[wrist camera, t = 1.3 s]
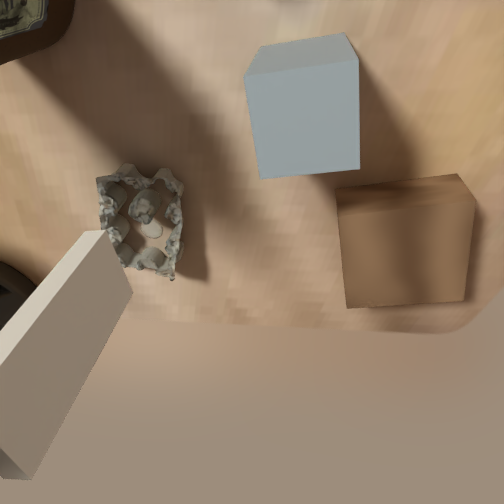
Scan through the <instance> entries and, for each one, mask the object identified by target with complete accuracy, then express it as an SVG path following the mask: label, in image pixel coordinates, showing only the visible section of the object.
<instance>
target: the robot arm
mask: <svg viewBox="0 0 504 504" xmlns="http://www.w3.org/2000/svg"><path fill="white" fill-rule="evenodd" d="M132 294H133V291H132V289H131V286H130V284H129V282H128V279H127V277H126V275H125V272H124V270H123V268H122V266H121V263H120V261H119V259H118V256H117V254H116V252H115V249H114V247H113V245H112V243H111V240H110V238H109V236H108V233H107V231H106V230H96V231H85V232H84V233H83V234H82V236H81V237H80V238H79V239H78V240H77V241H76V243H75V244H74V245H73V246H72V247H71V248H70V250H69V251H68V252H67V253H66V254H65V255H64V257H63V258H62V259H61V260H60V261H59V263H58V264H57V265H56V266H55V267H54V268H53V270H52V271H51V272H50V273H49V274H48V275H47V277H46V278H45V279H44V280H43V281H42V283H41V284H40V285H39V286H38V287H36V286H35V285H34V284H33V283H32V282H31V281H29V280H28V279H27V278H26V277H25V276H23V275H22V274H21V273H19V272H18V271H16V270H15V269H13V268H11V267H10V266H8V265H6V264H4V263H2V262H0V476H1V477H2V478H3V479H21V480H32V478H33V476H34V474H35V473H36V471H37V469H38V467H39V465H40V463H41V461H42V460H43V458H44V456H45V454H46V452H47V451H48V449H49V447H50V445H51V443H52V441H53V439H54V438H55V436H56V434H57V432H58V430H59V428H60V427H61V425H62V423H63V421H64V419H65V417H66V416H67V414H68V412H69V410H70V408H71V406H72V404H73V403H74V401H75V399H76V397H77V395H78V394H79V392H80V390H81V388H82V386H83V384H84V383H85V381H86V379H87V377H88V375H89V373H90V372H91V370H92V368H93V366H94V364H95V362H96V360H97V359H98V357H99V355H100V353H101V351H102V349H103V348H104V346H105V344H106V342H107V340H108V338H109V336H110V334H111V333H112V331H113V329H114V327H115V326H116V324H117V322H118V320H119V318H120V316H121V315H122V313H123V311H124V309H125V307H126V305H127V304H128V302H129V300H130V298H131V296H132Z"/></svg>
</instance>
